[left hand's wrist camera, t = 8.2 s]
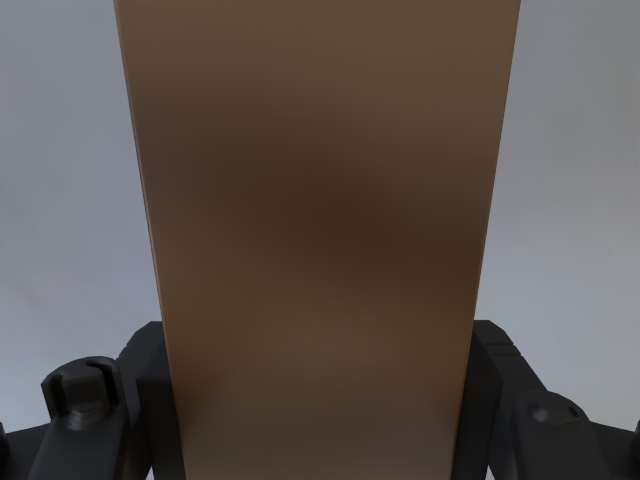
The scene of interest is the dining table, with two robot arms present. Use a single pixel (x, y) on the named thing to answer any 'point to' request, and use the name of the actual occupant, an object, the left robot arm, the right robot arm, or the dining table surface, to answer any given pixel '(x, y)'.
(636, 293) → the dining table surface
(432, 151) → the post
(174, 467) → the left robot arm
